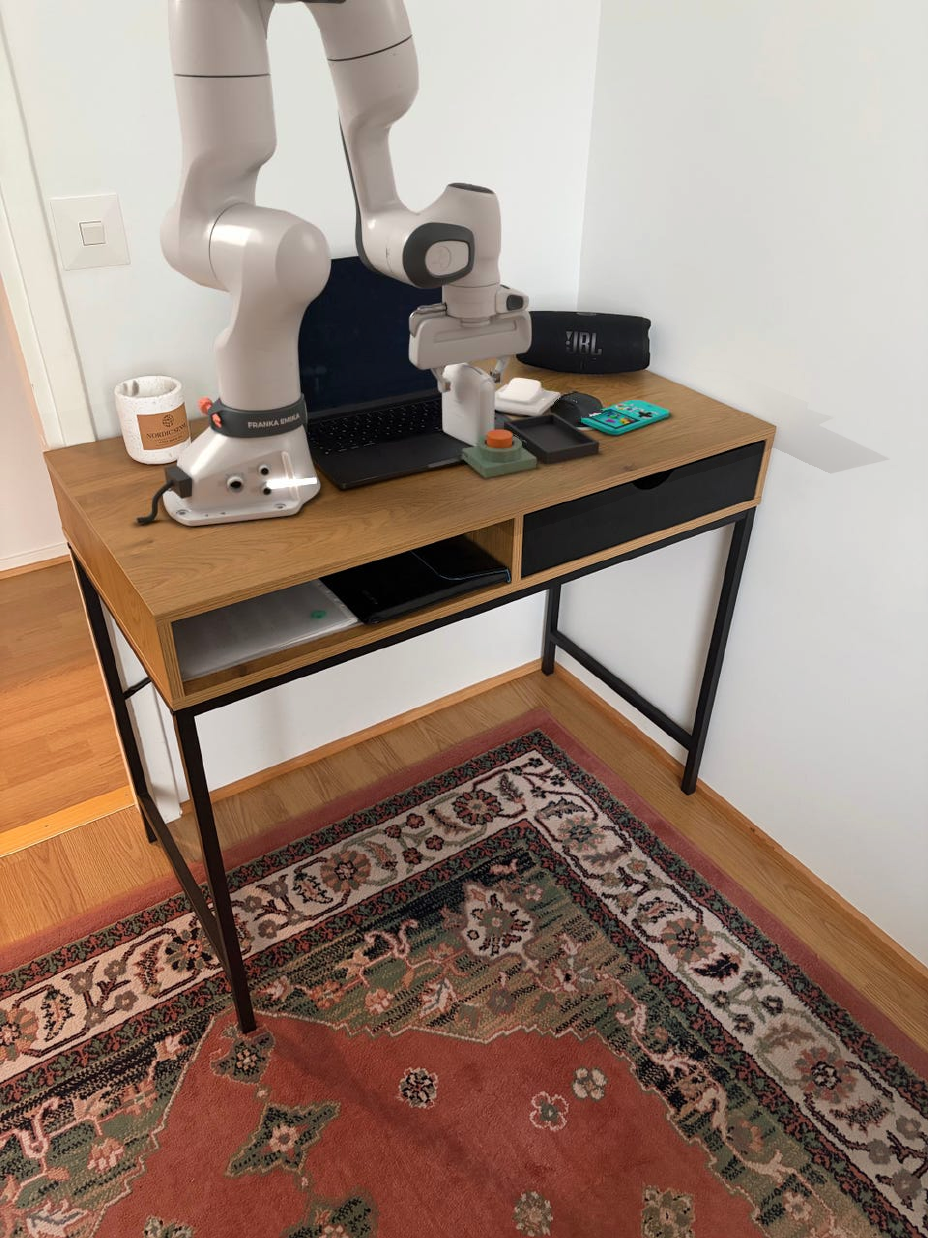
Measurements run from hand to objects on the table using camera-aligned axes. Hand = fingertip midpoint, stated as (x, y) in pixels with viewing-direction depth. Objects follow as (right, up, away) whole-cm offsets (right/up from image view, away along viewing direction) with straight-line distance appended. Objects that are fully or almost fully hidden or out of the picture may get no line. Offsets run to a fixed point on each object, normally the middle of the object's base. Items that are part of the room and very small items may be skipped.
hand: (470, 386), depth 146 cm
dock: (+13, -8, +3) cm, 16 cm away
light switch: (+9, +1, +18) cm, 21 cm away
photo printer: (0, -8, +5) cm, 9 cm away
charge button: (+4, -10, -5) cm, 13 cm away
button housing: (+4, -13, -3) cm, 14 cm away
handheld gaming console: (+27, -3, +13) cm, 30 cm away
